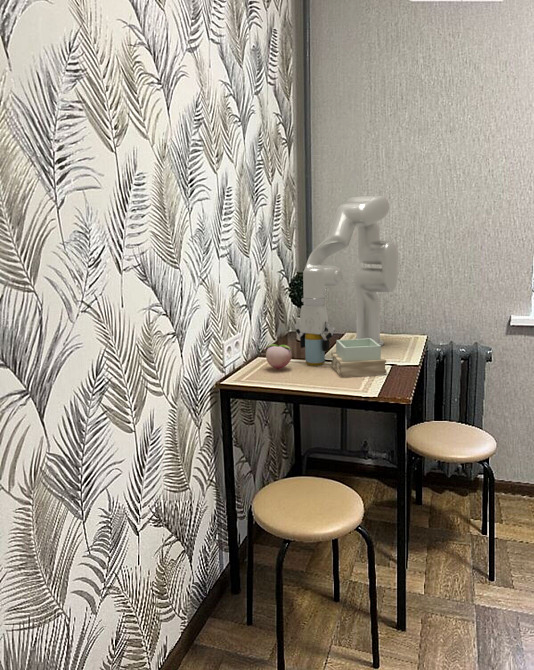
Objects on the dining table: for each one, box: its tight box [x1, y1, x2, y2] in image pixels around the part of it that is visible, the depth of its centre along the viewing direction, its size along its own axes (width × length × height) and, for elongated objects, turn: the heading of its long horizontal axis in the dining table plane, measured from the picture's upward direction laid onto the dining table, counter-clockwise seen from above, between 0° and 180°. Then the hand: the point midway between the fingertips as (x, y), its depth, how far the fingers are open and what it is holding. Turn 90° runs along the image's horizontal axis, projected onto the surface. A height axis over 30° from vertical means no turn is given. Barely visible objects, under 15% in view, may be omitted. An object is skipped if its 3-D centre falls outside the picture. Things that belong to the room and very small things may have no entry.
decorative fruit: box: [265, 341, 292, 370], centre depth 218 cm, size 9×8×10 cm
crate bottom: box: [330, 351, 387, 378], centre depth 215 cm, size 16×16×5 cm
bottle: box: [304, 325, 326, 367], centre depth 224 cm, size 7×7×15 cm
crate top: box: [335, 338, 382, 362], centre depth 214 cm, size 13×13×5 cm
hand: (314, 348), depth 224 cm, fingers open, 9 cm apart
